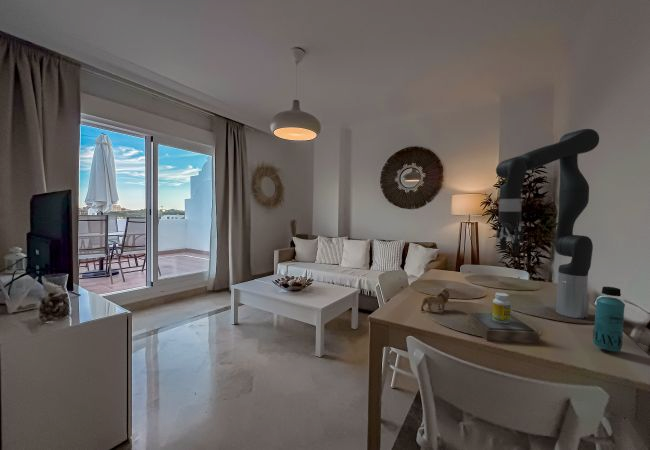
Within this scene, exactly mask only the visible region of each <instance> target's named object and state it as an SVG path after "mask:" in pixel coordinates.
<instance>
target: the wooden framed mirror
mask: <svg viewBox="0 0 650 450" xmlns="http://www.w3.org/2000/svg"><path fill="white" fill-rule="evenodd" d="M492 313H493V312H492ZM492 313H491V312H490V313H489V312H486V313H485V312H467V321H468V322H469V323H470V324H471V325H472V326H473V327H474V328H475V329H476V330H477V331H478V332H479V333H480V334H481V335H480V334H479V333H478V332H477V331H476V330H475V329H474V328H473V327H472V326H471V325H470V324H469V323H468V322H467V323H468V324H469V325H470V326H471V327H472V328H473V329H474V330H475V331H476V332H477V333H478V334H479V335H480V336H482V338H483V339H484V340H485V341H487V342H501V343H502V342H506V343H522V344H523V343H525V344H539V340H540V339H539V337H540V335H539V334H540V333H539V332H538V331H537V330H536V329H534V328H532V327H531V326H529V325H528V324H527V323H525V322H524V321H522V320H520V319H519V318H517V317H516V316H514V315H513V314H511V313H510V322H509V323H499V322H496V321H494V320H493V319H492Z"/></svg>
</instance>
